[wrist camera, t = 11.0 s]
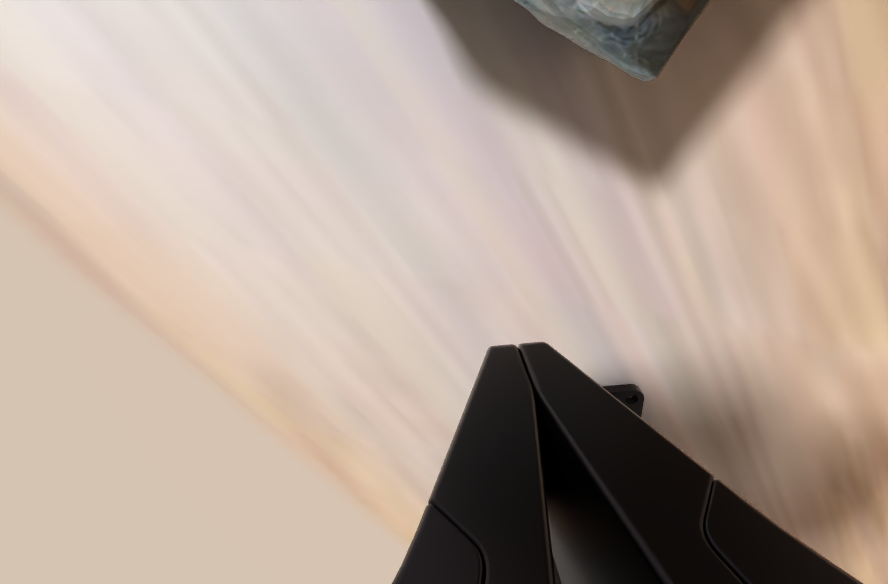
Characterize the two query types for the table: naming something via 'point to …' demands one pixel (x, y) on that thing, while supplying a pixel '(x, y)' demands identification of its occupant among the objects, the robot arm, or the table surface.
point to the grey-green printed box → (622, 28)
